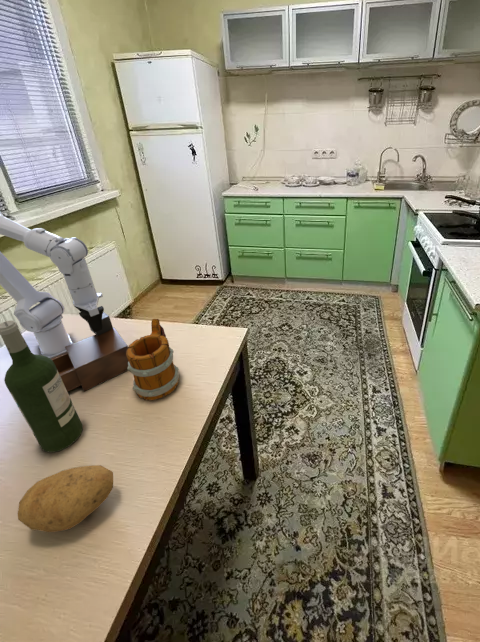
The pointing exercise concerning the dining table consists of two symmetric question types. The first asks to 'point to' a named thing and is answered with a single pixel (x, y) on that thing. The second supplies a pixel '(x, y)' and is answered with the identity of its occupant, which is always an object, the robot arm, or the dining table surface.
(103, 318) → the block
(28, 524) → the potato
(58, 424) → the wine bottle
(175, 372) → the mug
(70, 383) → the drawer
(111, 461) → the dining table surface
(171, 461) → the dining table surface
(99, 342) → the cabinet
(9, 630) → the dining table surface
